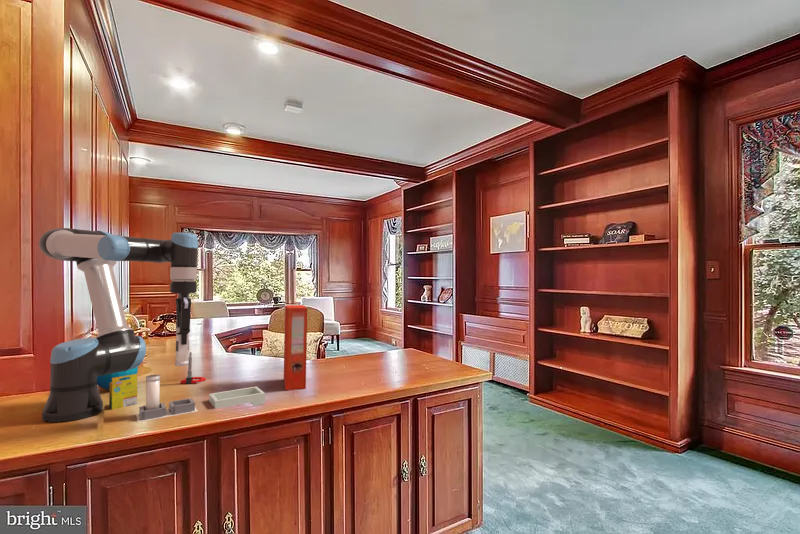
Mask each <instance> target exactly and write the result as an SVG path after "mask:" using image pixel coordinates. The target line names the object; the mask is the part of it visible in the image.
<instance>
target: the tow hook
mask: <svg viewBox="0 0 800 534" xmlns="http://www.w3.org/2000/svg"><path fill="white" fill-rule="evenodd" d="M188 360H189V364H188V365H187V367H188V369H187V376H186V377H185V378H183V379H182V380H180V384H183V385H184V384H185V385H193V384H194V385H195V384H196V385H197V384H198V383H200V382H205V380H206V377H204V376H192V372H193V371H192V366H193V365H192V364H193V357H192V352H191V351H190V352H189V357H188Z"/></svg>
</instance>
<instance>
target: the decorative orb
mask: <svg viewBox="0 0 800 534" xmlns="http://www.w3.org/2000/svg"><path fill="white" fill-rule="evenodd" d="M138 370H139V366H138V367H136V368H134V369H130V370H127V371H121V372H116V373H112V374H107V375H102V376H98V377H97V387H99V388H101V389H103V390H104V389H105V390H109V383H111V382H112V378H116V377H121V376H127V375H133V374H137V375H138ZM126 379H130V377H127V378H126V377H124V378H121V379H119V380H120V381H121V380H126Z"/></svg>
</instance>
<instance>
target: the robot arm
mask: <svg viewBox="0 0 800 534" xmlns="http://www.w3.org/2000/svg"><path fill="white" fill-rule="evenodd" d="M198 244H199V243H198V236H197V234H196V233H191V232H173V233H172V234H171V238H170V239H155V238H148V237H147V238H146V237H144V238H143V237H135V236H124V235H116V234H112V233H111V232H107V231H102V230H90V229H89V230H88V229H80V228H79V229H77V228H69V227H57V228H53V229H50V230H47V231H45V232H44V233H43V234H42V235H41V236H40V238H39V242H38V246H39V249H40V250H41V252H42V253H43V255H45V256H47V257H49V258H51V259H53V260H57V261H63V262H64V261H65V262H76V267H77V269H78V270H79V271H81V272H83V274H84V277H85V281H86V286H87V291H88V295H89V298H90V303H91V304H90V305H91V307H92V313H93V316H94V319H95V324H96V328H97V332H98V334H97V335H96V336H95V337H87V338H86V337H85V338H84V337H83V338H80V339H79V338H78V339H71V340H68V341H64V342H61V343H59V344H56V345H55V346H54V347H53V348H52V350H51V352H50V353H51V354H50V359H49V362H50V374H49V375H50V376H49V378H50V382H49V383H50V386H49V394H48V397H47V399H46V402H45V404H44V407H43V409H42V412H41V420H42V421H43V420H44V421H43V422H45V421H48V422H47V423H61V421H64V422H70V421H71V420H72V421H75V420H81V419H85V418H88V417H92V416H95V415H97V414H99V413H101V412H102V411H103V410H104V402H103V399H102V396H101V394H100V391H99V389H98V385H97V377H98V376H102V375H107V374H112V373H116V372H121V371H127V370H130V369H134V368H136V367H138V368H139V366H140V365H141V364H142V363H143V362H144V360H145V357H146V353H147V345H146V342H145V339H144V338H143V337H142V336H140V335H136V333H135V331H134V329H133V328H131V327H129V325H128V324H127V320H126V319H127V318H126V315H125V312H124V308H123V307H124V306H123V303H122V300H121V299H122V298H121V295H120V291H119V286H118V283H117V280H116V276H115V275H116V274H115V272H114V267H115V265H116V264H117V262H141V263H143V262H145V263H155V264H161V263H170V276H169V277H170V278H169V279H170V280H171V282H170V284H169V285H170V286H169V292H170V293H172V294H177V295H178V296H177V298H175V305H176V307H175V311H176V313H175V316H176V318H175V328H176V327H180V332H179V333H177V335H179V342H178V355H187V354H188V340H189V341H190V333H191V309H192V308H191V307H192V306H191V305H192V298H190V294H194V293H197V289H198V287H197V286H198V282H197V281H196V280H198V279H197V278H198V277H197V276H198V274H200V271H199V270H198V254H199V253H198V251H199V245H198Z"/></svg>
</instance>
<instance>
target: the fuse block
mask: <svg viewBox="0 0 800 534" xmlns="http://www.w3.org/2000/svg"><path fill="white" fill-rule="evenodd" d="M138 408H139V410H138V413H136V414H135V415H136V420H137V421H136V422H137V423H140V422H145V421H151V420H158V419H163V418H164V419H165V418H168V417H174V416H175V417H176V416H180V415H185V414H190V413H191V414H192V413H197V412H198V409H197V408H196V402H195V401H194V399H193V398H191V397H190V398H184V399H183V398H182V399H179V400H177V399H176V400H172V401H169V402H168V408H167V407H166V404H165V402H161V403H159V408H158V409H152V410H146V404H145V405H142V406H139V407H138Z"/></svg>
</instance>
